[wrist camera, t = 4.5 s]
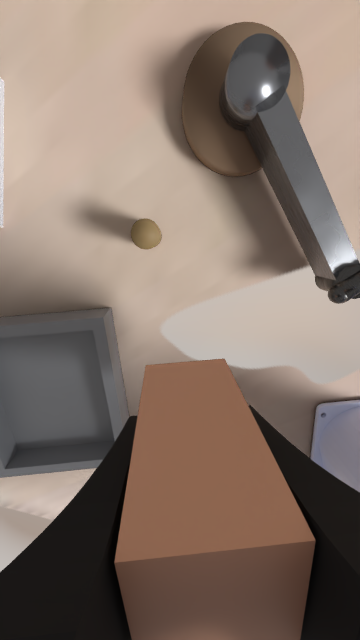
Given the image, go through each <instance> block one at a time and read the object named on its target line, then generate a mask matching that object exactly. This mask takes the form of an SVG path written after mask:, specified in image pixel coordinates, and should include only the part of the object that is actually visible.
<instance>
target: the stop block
mask: <svg viewBox="0 0 360 640" xmlns="http://www.w3.org/2000/svg"><path fill="white" fill-rule="evenodd" d="M315 542H316V540H315V538H314V536H313V534H312V532H311V530H310V528H309V526H308V524H307V522H306V520H305V518H304V516H303V514H302V512H301V510H300V508H299V506H298V504H297V502H296V500H295V498H294V496H293V494H292V492H291V490H290V488H289V486H288V484H287V482H286V480H285V478H284V476H283V474H282V472H281V470H280V468H279V466H278V464H277V462H276V460H275V458H274V456H273V454H272V452H271V450H270V448H269V446H268V444H267V442H266V440H265V438H264V436H263V434H262V432H261V430H260V428H259V426H258V424H257V422H256V420H255V418H254V416H253V414H252V412H251V410H250V408H249V406H248V404H247V402H246V400H245V398H244V397H243V395H242V393H241V391H240V389H239V387H238V385H237V383H236V381H235V379H234V377H233V375H232V373H231V371H230V369H229V367H228V365H227V363H226V361H225V359H214V360H202V361H190V362H178V363H167V364H155V365H146V367H145V373H144V380H143V386H142V392H141V399H140V405H139V411H138V417H137V424H136V430H135V436H134V442H133V449H132V455H131V461H130V467H129V474H128V480H127V486H126V492H125V499H124V505H123V511H122V517H121V524H120V530H119V536H118V543H117V549H116V555H115V561H114V564H115V568H116V573H117V577H118V581H119V586H120V590H121V595H122V599H123V603H124V608H125V612H126V617H127V621H128V625H129V630H130V634H131V639H132V640H300V638H301V631H302V625H303V619H304V612H305V606H306V599H307V593H308V587H309V580H310V574H311V568H312V561H313V555H314V548H315Z"/></svg>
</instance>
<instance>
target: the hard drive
mask: <svg viewBox="0 0 360 640" xmlns="http://www.w3.org/2000/svg"><path fill="white" fill-rule="evenodd" d="M3 167H4V81H3V80H2V79H1V78H0V227H3Z"/></svg>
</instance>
